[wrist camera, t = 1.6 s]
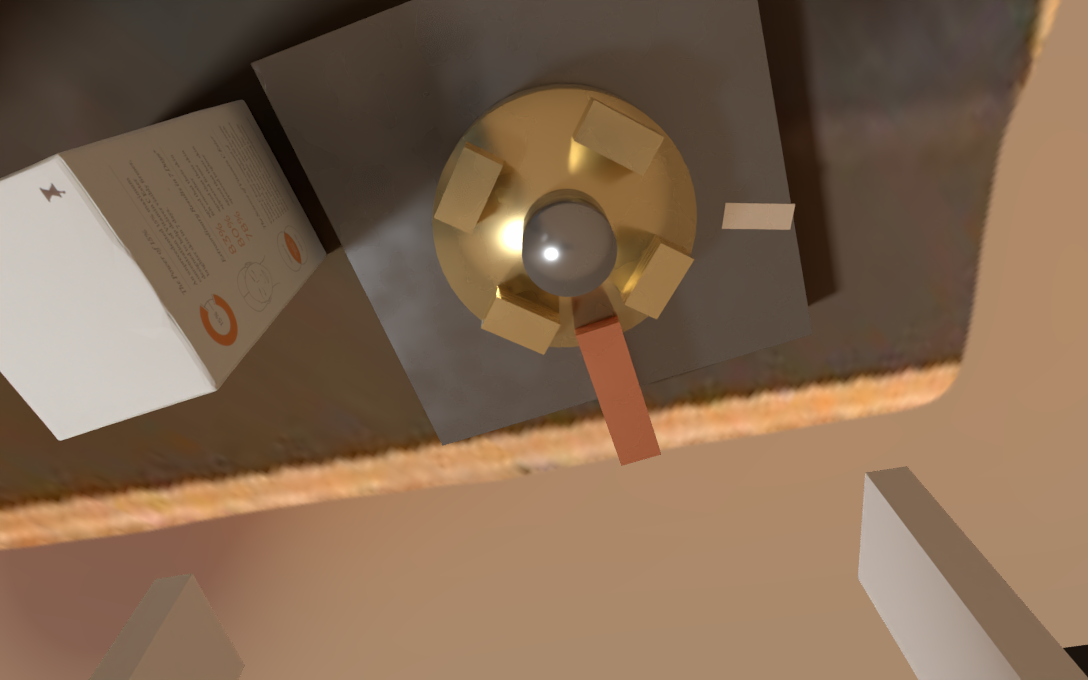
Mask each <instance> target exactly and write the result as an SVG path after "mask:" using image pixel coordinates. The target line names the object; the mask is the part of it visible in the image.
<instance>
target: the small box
mask: <svg viewBox="0 0 1088 680" xmlns="http://www.w3.org/2000/svg"><path fill="white" fill-rule="evenodd" d="M325 257H326V252H325V250H324V248H323V246H322V244H321V242H320V241H319V239H318V237H317V235H316V233H315V231H314V229H313V227H312V225H311V223H310V222H309V220H308V218H307V216H306V214H305V212H304V210H303V209H302V207H301V205H300V203H299V201H298V199H297V197H296V196H295V194H294V192H293V190H292V188H291V186H290V184H289V182H288V180H287V178H286V177H285V175H284V173H283V171H282V169H281V167H280V165H279V164H278V162H277V160H276V158H275V156H274V154H273V152H272V151H271V149H270V147H269V145H268V143H267V141H266V140H265V138H264V136H263V134H262V132H261V130H260V128H259V126H258V125H257V123H256V121H255V119H254V117H253V116H252V114H251V112H250V110H249V108H248V106H247V105H246V103H245V101H244V100H237V101H233V102H230V103H226V104H222V105H219V106H215V107H211V108H207V109H203V110H200V111H196V112H192V113H189V114H186V115H183V116H180V117H176V118H173V119H170V120H167V121H164V122H160V123H157V124H154V125H151V126H147V127H144V128H141V129H138V130H134V131H131V132H128V133H125V134H121V135H118V136H114V137H111V138H108V139H104V140H101V141H97V142H94V143H91V144H87V145H84V146H81V147H77V148H74V149H70V150H67V151H64V152H60V153H57V154H55V155H53V156H51V157H49V158H46V159H44V160H42V161H40V162H37V163H35V164H33V165H31V166H28V167H26V168H24V169H21V170H19V171H17V172H14V173H12V174H10V175H7V176H5V177H2V178H0V372H1V373H2V374H3V376H4V377H5V378H6V379H7V380H8V382H9V383H10V384H11V385H12V386H13V387H14V389H15V390H16V391H17V392H18V393H19V394H20V396H21V397H22V398H23V399H24V400H25V401H26V403H27V404H28V405H29V406H30V407H31V408H32V410H33V411H34V412H35V413H36V414H37V415H38V417H39V418H40V419H41V420H42V421H43V422H44V424H45V425H46V426H47V427H48V428H49V430H50V431H51V432H52V433H53V434H54V436H55V437H56V438H57V439H58V440H65V439H68V438H70V437H73V436H76V435H79V434H83V433H86V432H89V431H92V430H95V429H98V428H101V427H104V426H107V425H111V424H114V423H117V422H120V421H123V420H126V419H129V418H133V417H136V416H139V415H142V414H145V413H148V412H151V411H154V410H157V409H161V408H164V407H167V406H170V405H173V404H176V403H179V402H183V401H186V400H189V399H192V398H195V397H198V396H201V395H205V394H208V393H211V392H214V391H217V390H218V389H219V388H220V386H221V385H222V384H223V382H224V381H225V380H226V378H227V377H228V376H229V375H230V373H231V372H232V371H233V370H234V368H235V367H236V366H237V365H238V363H239V362H240V361H241V360H242V358H243V357H244V356H245V355H246V353H247V352H248V351H249V350H250V349H251V347H252V346H253V345H254V344H255V343H256V341H257V340H258V339H259V338H260V337H261V335H262V334H263V333H264V332H265V331H266V329H267V328H268V327H269V326H270V324H271V323H272V322H273V321H274V320H275V318H276V317H277V316H278V314H279V313H280V312H281V311H282V309H283V308H284V307H285V306H286V305H287V304H288V302H289V301H290V300H291V299H292V298H293V297H294V295H295V294H296V293H297V291H298V290H299V289H300V288H301V287H302V286H303V284H304V283H305V282H306V281H307V279H308V278H309V277H310V276H311V274H312V273H313V272H314V271H315V269H316V268H317V267H318V266H319V264H320V263H321V262H322V261H323V259H324V258H325Z"/></svg>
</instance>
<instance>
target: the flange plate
mask: <svg viewBox="0 0 1088 680" xmlns="http://www.w3.org/2000/svg"><path fill="white" fill-rule="evenodd" d="M251 65H252V67H253V69H254V71H255V73H256V75H257V77H258V79H259V81H260V83H261V85H262V87H263V89H264V91H265V93H266V95H267V97H268V99H269V101H270V103H271V105H272V107H273V109H274V111H275V113H276V115H277V117H278V119H279V121H280V123H281V125H282V127H283V129H284V131H285V133H286V135H287V137H288V139H289V141H290V143H291V145H292V147H293V149H294V151H295V153H296V155H297V157H298V159H299V161H300V163H301V165H302V167H303V169H304V171H305V173H306V175H307V177H308V179H309V181H310V183H311V185H312V187H313V189H314V191H315V193H316V195H317V197H318V199H319V201H320V203H321V205H322V207H323V209H324V211H325V213H326V215H327V217H328V218H329V220H330V222H331V224H332V226H333V228H334V230H335V232H336V234H337V236H338V238H339V240H340V242H341V244H342V246H343V248H344V250H345V252H346V254H347V256H348V258H349V260H350V262H351V264H352V266H353V268H354V270H355V272H356V274H357V276H358V278H359V280H360V282H361V284H362V286H363V288H364V290H365V292H366V294H367V296H368V298H369V300H370V302H371V304H372V306H373V308H374V310H375V312H376V314H377V316H378V318H379V320H380V322H381V324H382V326H383V328H384V330H385V332H386V334H387V336H388V338H389V340H390V342H391V344H392V346H393V348H394V350H395V352H396V354H397V356H398V358H399V360H400V362H401V364H402V366H403V368H404V370H405V372H406V374H407V376H408V378H409V380H410V382H411V384H412V386H413V388H414V390H415V392H416V394H417V396H418V398H419V400H420V402H421V403H422V405H423V407H424V409H425V411H426V413H427V415H428V417H429V419H430V421H431V423H432V425H433V427H434V429H435V431H436V433H437V435H438V437H439V439H440V441H441V443H442V445H446V444H449V443H453V442H456V441H459V440H463V439H466V438H469V437H473V436H476V435H479V434H482V433H486V432H489V431H492V430H496V429H499V428H502V427H506V426H509V425H512V424H516V423H519V422H522V421H526V420H529V419H532V418H536V417H539V416H542V415H546V414H549V413H552V412H556V411H559V410H562V409H565V408H569V407H572V406H575V405H579V404H582V403H585V402H589V401H592V400H595V399H598V398H597V395H596V392H595V389H594V386H593V383H592V381H591V378H590V375H589V372H588V369H587V366H586V364H585V361H584V358H583V355H582V352H581V349H580V347H579V346H576V347H548V349H547V350H546V352H545V354H544V355H543V354H541V353H538V352H536V351H533V350H531V349H529V348H526V347H524V346H522V345H519V344H517V343H515V342H512V341H510V340H508V339H505V338H503V337H500V336H498V335H496V334H493V333H491V332H489V331H486V330H484V329H482V328H481V324H482V321H481V320H480V319H479V318H478V317H477V316H476V315H474V314H473V313H472V312H471V311H470V310H469V309H468V308H467V307H466V306H465V305H464V304H463V302H462V301H461V300H460V299H459V298H458V296H457V295H456V293H455V292H454V291H453V289H452V288H451V286H450V284H449V283H448V281H447V279H446V277H445V275H444V273H443V271H442V268H441V265H440V262H439V260H438V257H437V253H436V248H435V244H434V239H433V226H432V218H433V204H434V199H435V194H436V189H437V186H438V183H439V180H440V177H441V174H442V171H443V169H444V167H445V165H446V163H447V161H448V159H449V157H450V155H451V153H452V152H453V150H454V148H455V146H456V144H457V143H458V141H459V140H460V138H461V137H462V136H463V134H464V133H465V131H466V130H467V129H468V128H469V127H470V126H471V125H472V123H473V122H474V121H475V120H476V119H477V118H478V117H479V116H481V115H482V114H483V113H484V112H485V111H487V110H488V109H489V108H490V107H492V106H493V105H495V104H497V103H498V102H500V101H501V100H503V99H505V98H507V97H509V96H511V95H513V94H516V93H518V92H520V91H523V90H526V89H530V88H533V87H537V86H543V85H550V84H578V85H585V86H591V87H594V88H598V89H601V90H605V91H608V92H610V93H612V94H614V95H616V96H619V97H621V98H623V99H624V100H626V101H628V102H629V103H631V104H632V105H634V106H635V107H637V108H638V109H639V110H641V111H642V112H643V113H645V114H646V115H647V116H648V117H649V118H651V119H652V120H653V121H654V122H655V123H656V124H658V125H659V126H660V127H661V128H662V130H663V131H664V132H665V133H666V134H667V135H668V136H669V137H670V139H671V140H672V141H673V143H674V144H675V146H676V147H677V149H678V150H679V152H680V154H681V155H682V157H683V159H684V162H685V164H686V166H687V168H688V170H689V173H690V177H691V180H692V183H693V186H694V192H695V198H696V208H697V224H696V233H695V239H694V244H693V248H692V252H691V255H692V257H693V258H694V261H693V263H692V264H691V266H690V267H689V269H688V271H687V272H686V274H685V275H684V277H683V279H682V280H681V282H680V283H679V285H678V287H677V288H676V290H675V291H674V293H673V295H672V296H671V298H670V299H669V301H668V303H667V304H666V306H665V307H664V309H663V311H662V312H661V314H660V315H659V317H658V319H654V318H652V317H650V316H648V317H647V318H646V319H644V320H643V321H641V322H640V323H639V324H637V325H636V326H634V327H633V328H631V329H629V330H627V331H625V332H623V335H624V338H625V341H626V344H627V348H628V351H629V354H630V357H631V360H632V363H633V367H634V370H635V373H636V376H637V379H638V383H639V386H642V385H645V384H649V383H652V382H655V381H658V380H662V379H665V378H668V377H672V376H675V375H678V374H682V373H685V372H688V371H692V370H695V369H698V368H702V367H705V366H708V365H712V364H715V363H718V362H722V361H725V360H728V359H732V358H735V357H738V356H741V355H745V354H748V353H751V352H755V351H758V350H761V349H765V348H768V347H771V346H775V345H778V344H781V343H785V342H788V341H791V340H795V339H798V338H801V337H805V336H808V335H811V334H812V327H811V321H810V315H809V309H808V303H807V297H806V291H805V285H804V279H803V273H802V267H801V261H800V255H799V249H798V243H797V237H796V231H795V225H794V218H793V213H794V208H795V203H791V200H790V194H789V188H788V182H787V176H786V170H785V164H784V158H783V152H782V146H781V140H780V134H779V128H778V122H777V116H776V110H775V103H774V97H773V91H772V85H771V79H770V73H769V67H768V61H767V55H766V49H765V43H764V37H763V31H762V25H761V19H760V13H759V7H758V1H757V0H411V1H408V2H406V3H403V4H401V5H398V6H396V7H393V8H391V9H388V10H385V11H383V12H380V13H378V14H375V15H373V16H370V17H368V18H365V19H362V20H360V21H357V22H355V23H352V24H350V25H347V26H345V27H342V28H340V29H337V30H334V31H332V32H329V33H327V34H324V35H322V36H319V37H317V38H314V39H311V40H309V41H306V42H304V43H301V44H299V45H296V46H294V47H291V48H289V49H286V50H283V51H281V52H278V53H276V54H273V55H271V56H268V57H266V58H263V59H260V60H258V61H255V62H253V63H251ZM616 258H617V242H616V238H615V235H614V232H613V230H612V227H611V225H610V223H609V220H608V218H607V216H606V213H605V211H604V210H603V208H602V206H601V205H600V204H599V203H598V202H597V201H596V200H595V199H594V198H593V197H592V196H590V195H588V194H587V193H584V192H582V191H579V190H575V189H558V190H554V191H551V192H549V193H546V194H544V195H543V196H541V197H540V198H538V199H537V200H536V201H535V202H534V203H533V204H532V205H531V207H530V208H529V210H528V211H527V213H526V215H525V218H524V221H523V225H522V260H523V264H524V268H525V270H526V272H527V274H528V276H529V277H530V279H531V280H532V281H533V282H534V283H535V284H536V285H537V286H538V287H540V288H541V289H542V290H544V291H546V292H548V293H550V294H553V295H557V296H562V297H574V296H580V295H584V294H586V293H589V292H591V291H593V290H595V289H596V288H597V287H599V286H600V285H601V284H602V283H603V282H604V281H605V280H606V279H607V278H608V277H609V275H610V274H611V272H612V270H613V268H614V265H615V262H616Z"/></svg>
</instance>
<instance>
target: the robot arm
mask: <svg viewBox="0 0 1088 680" xmlns="http://www.w3.org/2000/svg"><path fill="white" fill-rule="evenodd" d="M858 579H859V580H860V582H861V584H862V586H863V587H864V589H865V591H866V592H867V594H868V596H869V597H870V599H871V601H872V602H873V604H874V606H875V608H876V609H877V611H878V612H879V614H880V616H881V618H882V619H883V621H884V623H885V624H886V626H887V627H888V629H889V631H890V632H891V634H892V636H893V638H894V639H895V641H896V643H897V644H898V646H899V648H900V649H901V651H902V652H903V654H904V656H905V657H906V659H907V661H908V662H909V664H910V666H911V667H912V669H913V671H914V673H915V674H916V676H917V678H918V679H919V680H1088V645H1082V646H1074V647H1068V648H1062V647H1061V646H1060V644H1059V643H1058V642H1057V641H1056V640H1055V639H1054V637H1053V636H1052V635H1051V634H1050V633H1049V632H1048V630H1047V629H1046V628H1045V627H1044V626H1043V625H1042V624H1041V622H1040V621H1039V620H1038V619H1037V618H1036V616H1035V615H1034V614H1033V613H1032V612H1031V611H1030V610H1029V608H1028V607H1027V606H1026V605H1025V604H1024V602H1023V601H1022V600H1021V599H1020V598H1019V597H1018V596H1017V594H1016V593H1015V592H1014V591H1013V590H1012V588H1010V586H1009V585H1008V584H1007V583H1006V581H1005V580H1004V579H1003V578H1002V577H1001V576H1000V574H999V573H998V572H997V571H996V570H995V569H994V567H993V566H992V565H991V564H990V563H989V562H988V560H987V559H986V558H985V557H984V556H983V555H982V553H981V552H980V551H979V550H978V549H977V548H976V546H975V545H974V544H973V543H972V542H971V541H970V540H969V538H968V537H967V536H966V535H965V534H964V532H963V531H962V530H961V529H960V528H959V527H958V526H957V524H956V523H955V522H954V521H953V520H952V518H951V517H950V516H949V515H948V514H947V513H946V511H945V510H944V509H943V508H942V507H941V506H940V505H939V503H938V502H937V501H936V500H935V499H934V497H933V496H932V495H931V494H930V493H929V492H928V490H927V489H926V488H925V487H924V486H923V485H922V483H921V482H920V481H919V480H918V479H917V478H916V476H915V475H914V474H913V473H912V472H911V471H910V470H909V468H908V467H907V466H906V467H900V468H893V469H887V470H880V471H873V472H866V473H865V486H864V500H863V514H862V529H861V544H860V557H859V571H858ZM243 668H244V663H243V661H242V660H241V658H240V656H239V654H238V653H237V651H236V649H235V647H234V646H233V644H232V642H231V641H230V639H229V637H228V635H227V633H226V632H225V630H224V628H223V626H222V625H221V623H220V621H219V619H218V618H217V616H216V614H215V612H214V611H213V609H212V607H211V605H210V604H209V602H208V600H207V598H206V596H205V595H204V593H203V591H202V589H201V588H200V586H199V584H198V582H197V581H196V579H195V577H194V575H193V574H186V575H179V576H172V577H166V578H159V579H155V580H154V582H153V583H152V585H151V586H150V588H149V589H148V591H147V592H146V594H145V595H144V597H143V598H142V600H141V602H140V603H139V605H138V606H137V608H136V609H135V611H134V612H133V614H132V615H131V617H130V618H129V620H128V621H127V623H126V624H125V626H124V627H123V629H122V630H121V632H120V633H119V635H118V637H117V638H116V639H115V641H114V642H113V644H112V646H111V647H110V648H109V650H108V652H107V653H106V655H105V656H104V658H103V659H102V661H101V662H100V664H99V665H98V667H97V668H96V670H95V671H94V673H93V674H92V676H91V677H90V679H89V680H238V679H239V677H240V675H241V672H242V670H243Z"/></svg>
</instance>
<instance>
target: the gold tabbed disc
mask: <svg viewBox="0 0 1088 680" xmlns="http://www.w3.org/2000/svg"><path fill="white" fill-rule="evenodd" d="M558 189H575V190H579V191H582V192H584V193H587V194H588V195H590V196H592V197H593V198H594V199H595V200H596V201H597V202H598V203H599V204H600V205H601V206H602V208H603V210H604V211H605V213H606V216H607V218H608V220H609V223H610V225H611V227H612V230H613V232H614V235H615V238H616V242H617V258H616V262H615V265H614V268H613V270H612V272H611V274H610V275H609V277H608V278H607V279H606V280H605V281H604V282H603V283H602V284H601V285H600V286H599V287H597V288H596V289H595V290H593V291H591V292H589V293H586V294H584V295H580V296H574V297H562V296H557V295H553V294H550V293H548V292H546V291H544V290H542V289H541V288H540V287H538V286H537V285H536V284H535V283H534V282H533V281H532V280H531V279H530V277H529V276H528V274H527V272H526V270H525V268H524V264H523V260H522V225H523V221H524V218H525V215H526V213H527V211H528V210H529V208H530V207H531V205H532V204H533V203H534V202H535V201H536V200H537V199H538V198H540V197H541V196H543V195H544V194H546V193H549V192H551V191H554V190H558ZM696 224H697V208H696V198H695V192H694V186H693V183H692V180H691V177H690V173H689V170H688V168H687V166H686V164H685V162H684V159H683V157H682V155H681V154H680V152H679V150H678V149H677V147H676V146H675V144H674V143H673V141H672V140H671V139H670V137H669V136H668V135H667V134H666V133H665V132H664V131H663V130H662V128H661V127H660V126H659V125H658V124H656V123H655V122H654V121H653V120H652V119H651V118H649V117H648V116H647V115H646V114H645V113H643V112H642V111H641V110H639V109H638V108H637V107H635V106H634V105H632V104H631V103H629V102H628V101H626V100H624V99H623V98H621V97H619V96H616V95H614V94H612V93H610V92H608V91H605V90H601V89H598V88H594V87H591V86H585V85H578V84H550V85H543V86H537V87H533V88H530V89H526V90H523V91H520V92H518V93H516V94H513V95H511V96H509V97H507V98H505V99H503V100H501V101H500V102H498V103H497V104H495V105H493V106H492V107H490V108H489V109H488V110H487V111H485V112H484V113H483V114H482V115H481V116H479V117H478V118H477V119H476V120H475V121H474V122H473V123H472V125H471V126H470V127H469V128H468V129H467V130H466V131H465V133H464V134H463V136H462V137H461V138H460V140H459V141H458V143H457V144H456V146H455V148H454V150H453V152H452V153H451V155H450V157H449V159H448V161H447V163H446V165H445V167H444V169H443V171H442V174H441V177H440V180H439V183H438V186H437V189H436V194H435V199H434V204H433V218H432V226H433V239H434V244H435V248H436V253H437V257H438V260H439V262H440V265H441V268H442V271H443V273H444V275H445V277H446V279H447V281H448V283H449V284H450V286H451V288H452V289H453V291H454V292H455V293H456V295H457V296H458V298H459V299H460V300H461V301H462V302H463V304H464V305H465V306H466V307H467V308H468V309H469V310H470V311H471V312H472V313H473V314H474V315H476V316H477V317H478V318H479V319H480V320H481V321H482V324H481V328H482V329H484V330H486V331H489V332H491V333H493V334H496V335H498V336H500V337H503V338H505V339H508V340H510V341H512V342H515V343H517V344H519V345H522V346H524V347H526V348H529V349H531V350H533V351H536V352H538V353H541V354H543V355H544V354H545V352H546V350H547V349H548V347H576V346H579V347H580V349H581V352H582V355H583V358H584V361H585V364H586V366H587V369H588V372H589V375H590V378H591V381H592V383H593V386H594V389H595V392H596V395H597V398H598V400H599V403H600V406H601V409H602V412H603V415H604V417H605V420H606V423H607V426H608V429H609V432H610V434H611V437H612V440H613V443H614V446H615V449H616V451H617V454H618V457H619V460H620V463H621V465H625V464H629V463H632V462H636V461H639V460H643V459H647V458H650V457H653V456H657V455H661V452H660V449H659V446H658V443H657V440H656V436H655V433H654V430H653V427H652V424H651V421H650V417H649V414H648V411H647V408H646V405H645V402H644V398H643V395H642V392H641V389H640V386H639V383H638V379H637V376H636V373H635V370H634V367H633V363H632V360H631V357H630V354H629V351H628V348H627V344H626V341H625V338H624V335H623V332H625V331H627V330H629V329H631V328H633V327H634V326H636V325H637V324H639V323H640V322H641V321H643V320H644V319H646V318H647V317H648V316H650V317H652V318H654V319H658V317H659V315H660V314H661V312H662V311H663V309H664V307H665V306H666V304H667V303H668V301H669V299H670V298H671V296H672V295H673V293H674V291H675V290H676V288H677V287H678V285H679V283H680V282H681V280H682V279H683V277H684V275H685V274H686V272H687V271H688V269H689V267H690V266H691V264H692V263H693V261H694V258H693V257H692V255H691V252H692V248H693V244H694V239H695V233H696Z"/></svg>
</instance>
